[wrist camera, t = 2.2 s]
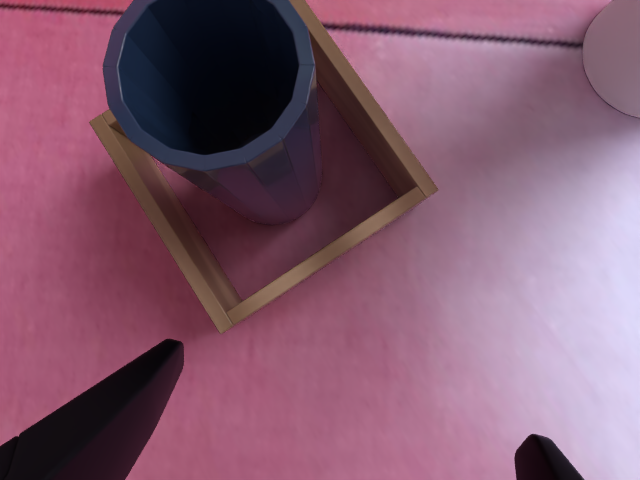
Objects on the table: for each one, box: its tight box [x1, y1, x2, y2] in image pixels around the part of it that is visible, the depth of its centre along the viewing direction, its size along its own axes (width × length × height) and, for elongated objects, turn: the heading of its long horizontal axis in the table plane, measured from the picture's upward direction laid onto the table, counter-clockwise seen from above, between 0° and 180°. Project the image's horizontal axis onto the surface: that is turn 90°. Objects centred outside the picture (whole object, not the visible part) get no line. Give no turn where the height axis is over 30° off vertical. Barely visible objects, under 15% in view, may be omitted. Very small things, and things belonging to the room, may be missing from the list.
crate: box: [89, 0, 438, 334], centre depth 22 cm, size 14×14×4 cm
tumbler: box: [103, 0, 322, 225], centre depth 18 cm, size 6×6×13 cm
